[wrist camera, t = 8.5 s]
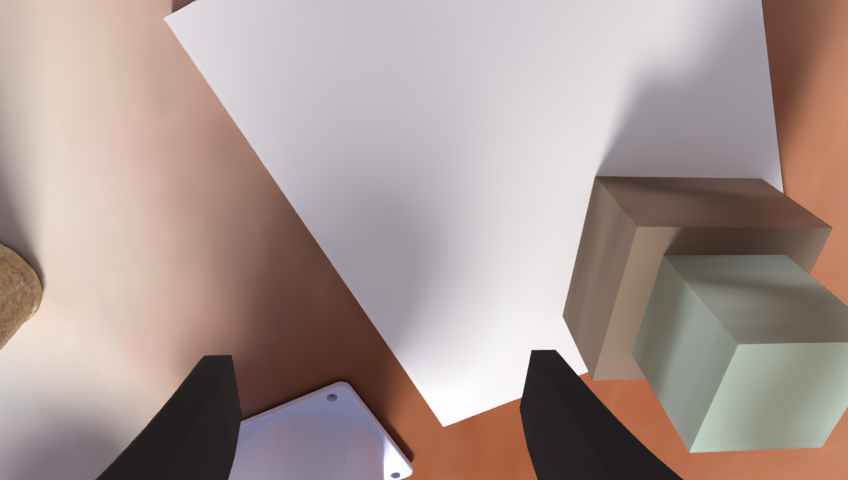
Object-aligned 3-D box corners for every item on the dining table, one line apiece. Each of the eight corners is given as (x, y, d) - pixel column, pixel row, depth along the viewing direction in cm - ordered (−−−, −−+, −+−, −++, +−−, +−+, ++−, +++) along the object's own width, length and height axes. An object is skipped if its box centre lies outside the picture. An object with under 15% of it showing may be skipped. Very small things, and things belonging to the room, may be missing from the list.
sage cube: (631, 353, 21) (689, 452, 17) (663, 255, 19) (738, 344, 15) (741, 350, 22) (821, 447, 18) (785, 254, 19) (889, 341, 15)
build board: (441, 414, 29) (443, 426, 28) (171, 14, 18) (163, 18, 17) (783, 282, 26) (794, 293, 26) (711, -287, 15) (727, -296, 15)
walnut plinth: (562, 316, 25) (592, 380, 22) (594, 175, 22) (637, 226, 18) (706, 314, 26) (757, 376, 22) (761, 178, 22) (832, 228, 19)
